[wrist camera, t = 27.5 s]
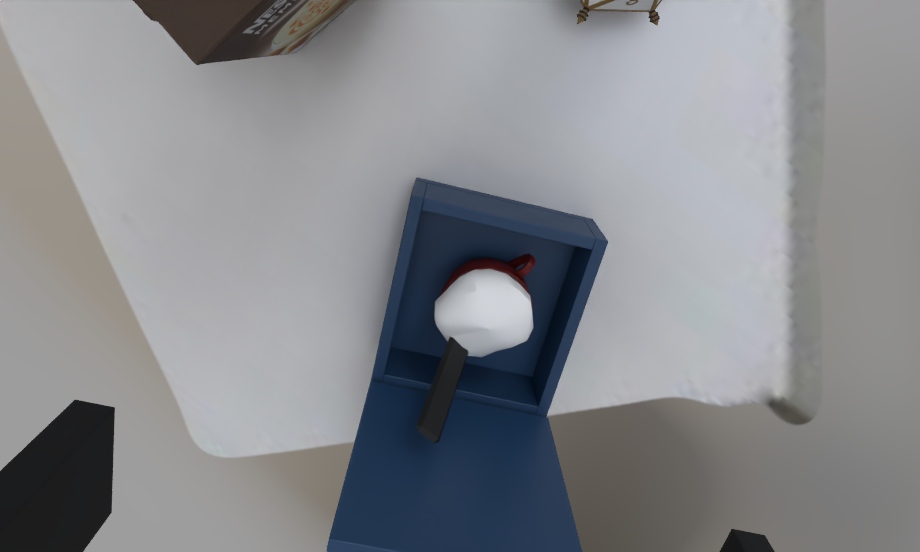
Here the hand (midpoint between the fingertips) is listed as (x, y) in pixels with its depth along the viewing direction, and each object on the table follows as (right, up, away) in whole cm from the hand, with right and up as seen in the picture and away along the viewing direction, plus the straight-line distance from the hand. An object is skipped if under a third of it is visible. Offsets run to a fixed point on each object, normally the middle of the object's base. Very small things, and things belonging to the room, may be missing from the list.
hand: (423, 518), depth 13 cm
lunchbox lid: (+1, -6, +22) cm, 23 cm away
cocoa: (+2, +4, +31) cm, 31 cm away
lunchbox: (+2, +4, +31) cm, 32 cm away
